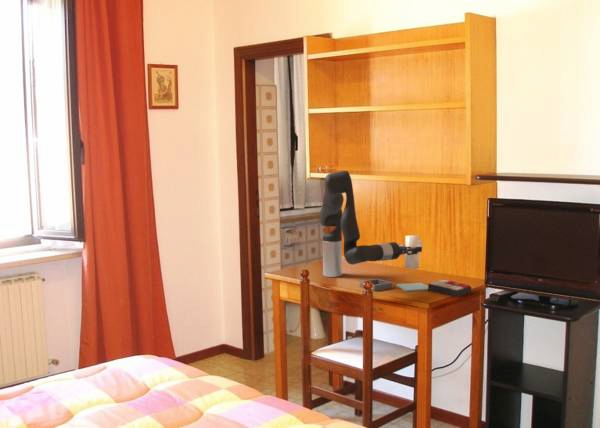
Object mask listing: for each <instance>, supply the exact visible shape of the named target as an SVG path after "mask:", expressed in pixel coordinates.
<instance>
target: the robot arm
mask: <svg viewBox="0 0 600 428" xmlns="http://www.w3.org/2000/svg"><path fill="white" fill-rule="evenodd" d="M343 194H345V197H346V198H345V206H344V209H342V208H343V205H344V195H343ZM322 198H323V199H322V206H321V209H320V212H319V222H320V225H321V226H323V227H334V228H333V230H331V231H329V232H325V233H324V234H323V235H322V276H323V277H328V278H338V277H341V276H343V256H344V259H345V261H346V262H347V264H349V265H357V264H361V263H365V262H380V261H382V262H383V261H384V262H385V261H393V260H397V259H399V257H400V256H405V254H407V255H413V254H417V252H420V253H422V252H423V246H422V247H410V246H405V244H400V243H399V244H398V242H396V241H393V242H392V241H391V242H382V243H378V244H371V245H370V244H369V245H367V244H366V245H365V244H364V245H361V244H360V245H358V244H357V243H358V241H359V240H360V238H361V233H360V229H359V228H360V227H359V225H358V222H357V221H358V220H357V213H356V205H355V195H354V188H353V181H352V178H351V173H350V172H349V171H348V170H341V171H335V172H332V173H331V172H330V173H329V174H327V175H326V176H325V178H324V194H323V197H322ZM407 248H409V249H407Z"/></svg>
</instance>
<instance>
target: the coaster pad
mask: <svg viewBox="0 0 600 428" xmlns="http://www.w3.org/2000/svg"><path fill="white" fill-rule="evenodd" d="M395 285H396V287H398V288H400V289H401V290H403V291H404V292H418V291H419V292H421V291H422V292H423V291H428V285H427V284H424V283H423V282H414V283H413V282H412V283H398V284H395Z"/></svg>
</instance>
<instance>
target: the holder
mask: <svg viewBox="0 0 600 428" xmlns="http://www.w3.org/2000/svg"><path fill="white" fill-rule="evenodd" d="M365 281H371V282H372V283H373V289H372V290H373V292H378V291H382V290H390V289H393V287H394V286H393V285H394V284H393V283H394V282H393V281H388V280H385V279H381V278H373V279H366V280H359V287H360V286H361V287H360V288H362V286H363V283H364V282H365ZM372 290H371V291H372Z"/></svg>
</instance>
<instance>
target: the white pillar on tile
mask: <svg viewBox="0 0 600 428" xmlns="http://www.w3.org/2000/svg"><path fill="white" fill-rule="evenodd" d="M404 239H405V243H404V245H405V246H410V247H422V248H423V241H422V240H420V235H415V234H414V235H413V234H411V235H405V238H404ZM407 249H409V248H407ZM420 253H421V252H417V254H413V255H407V254H405V255H404V256H405V257H404V268H405V269H408V270H410V269H411V270H416V269H419V268H420Z"/></svg>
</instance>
